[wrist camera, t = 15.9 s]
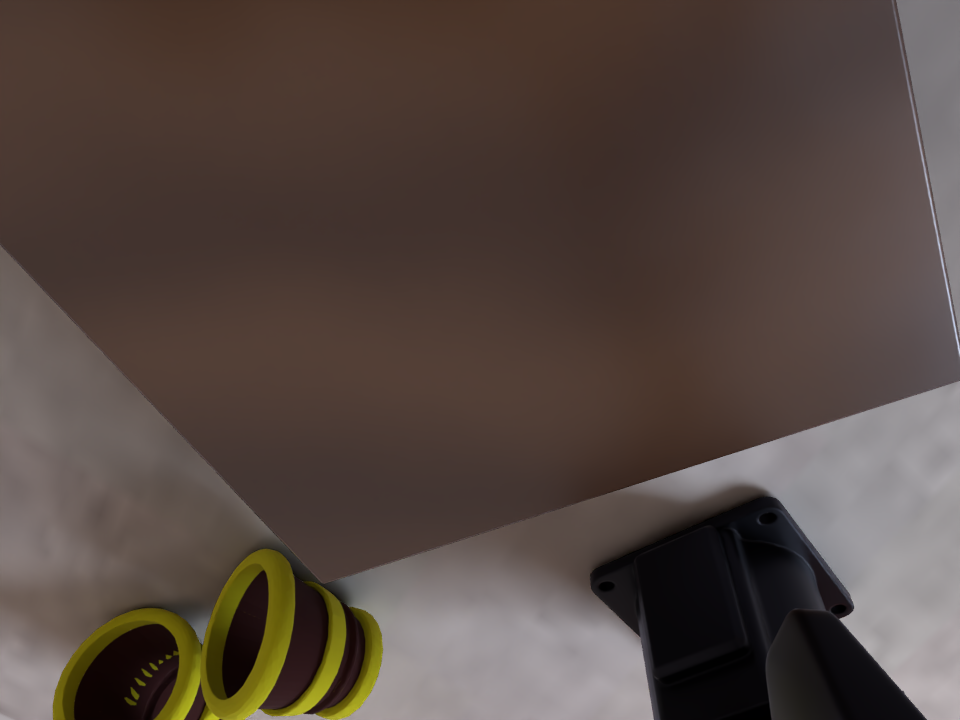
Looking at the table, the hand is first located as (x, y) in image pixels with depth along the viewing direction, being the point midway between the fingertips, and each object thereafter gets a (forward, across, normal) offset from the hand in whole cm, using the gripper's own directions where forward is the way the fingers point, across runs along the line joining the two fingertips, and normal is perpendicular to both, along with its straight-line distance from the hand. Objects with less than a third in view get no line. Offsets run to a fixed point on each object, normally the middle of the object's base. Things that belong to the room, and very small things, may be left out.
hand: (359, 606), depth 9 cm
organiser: (+13, 0, -2) cm, 13 cm away
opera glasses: (+13, +5, +19) cm, 23 cm away
